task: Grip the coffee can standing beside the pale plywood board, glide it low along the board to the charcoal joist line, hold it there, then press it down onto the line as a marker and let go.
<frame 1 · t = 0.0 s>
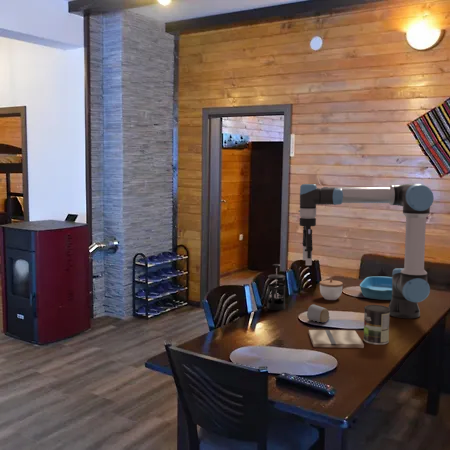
hand: (307, 262, 244), 28 cm above the table, tool pointing down, fingers open, 13 cm apart
plywood board: (335, 340, 219), on the table
casserole dish: (381, 294, 301), on the table
french press: (276, 308, 271), on the table
ceramic mug: (319, 321, 247), on the table
coffee can: (376, 341, 218), on the table
lidded bowl: (330, 298, 290), on the table
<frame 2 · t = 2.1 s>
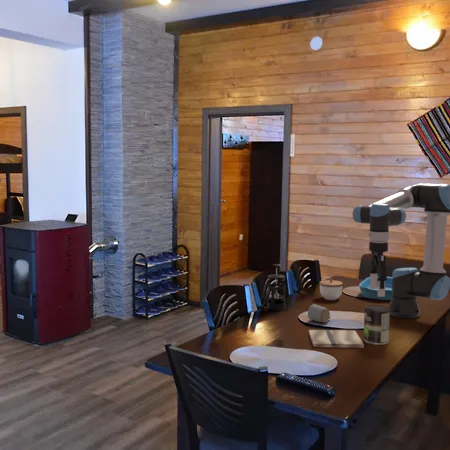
hand: (377, 292, 216), 21 cm above the table, tool pointing down, fingers open, 13 cm apart
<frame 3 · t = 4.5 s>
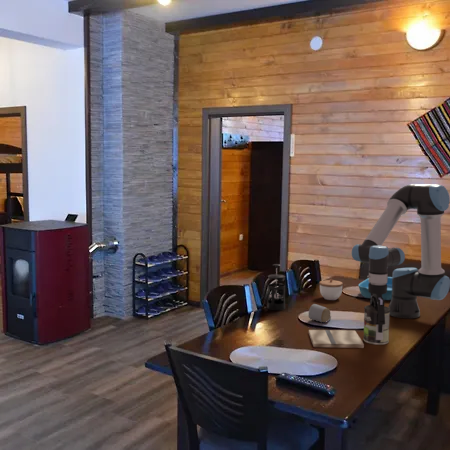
hand: (376, 335, 218), 2 cm above the table, tool pointing down, fingers closed on coffee can, 10 cm apart
coffee can: (376, 341, 218), on the table, touching gripper
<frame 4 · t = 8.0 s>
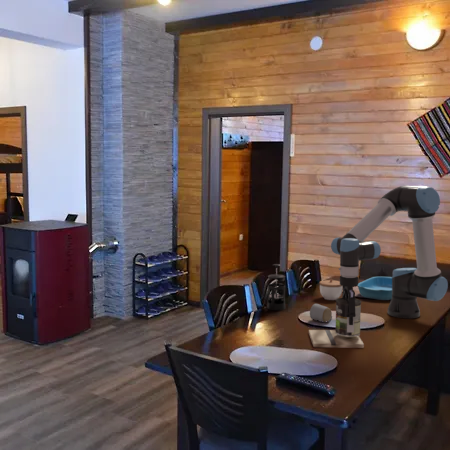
hand: (347, 328, 218), 5 cm above the table, tool pointing down, fingers closed on coffee can, 10 cm apart
coffee can: (347, 333, 218), point 3 cm above the table, touching gripper
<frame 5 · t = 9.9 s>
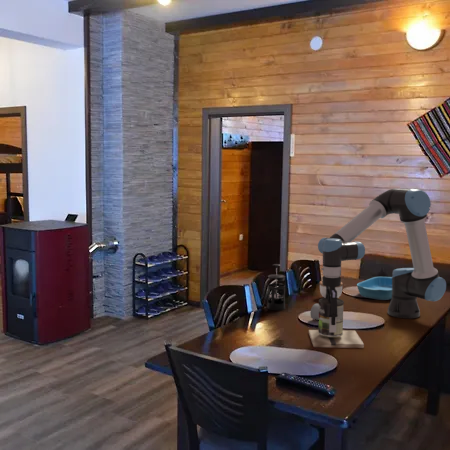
hand: (330, 328, 219), 5 cm above the table, tool pointing down, fingers closed on coffee can, 10 cm apart
coffee can: (330, 333, 219), point 3 cm above the table, touching gripper
when the fingers open (4 cm above the table, at t = 11.2 s): coffee can stays where it is, resting on plywood board.
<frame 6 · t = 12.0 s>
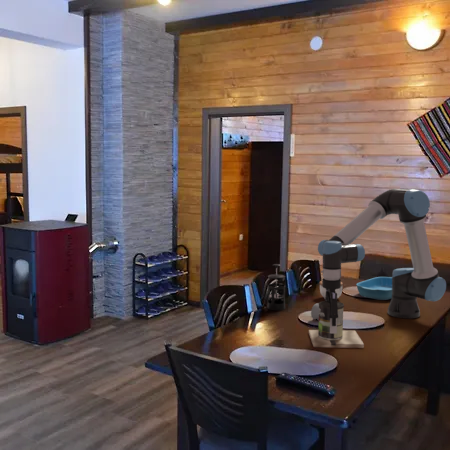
hand: (330, 328, 219), 5 cm above the table, tool pointing down, fingers open, 13 cm apart
coffee can: (330, 337, 219), point 1 cm above the table, touching plywood board
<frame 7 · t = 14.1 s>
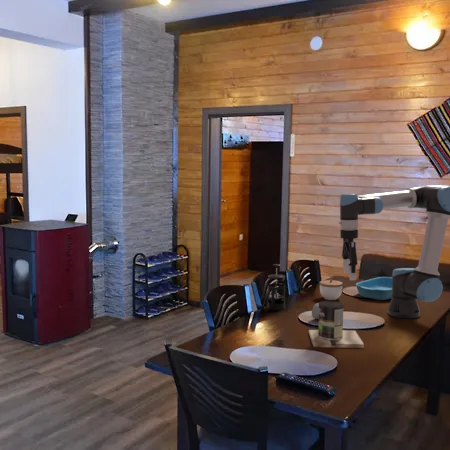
hand: (349, 276, 230), 24 cm above the table, tool pointing down, fingers open, 13 cm apart
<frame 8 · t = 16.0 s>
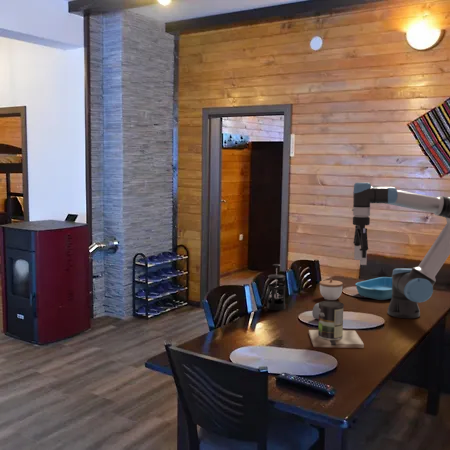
hand: (360, 262, 241), 29 cm above the table, tool pointing down, fingers open, 13 cm apart
at the end: coffee can inside the target area on the plywood board (0.1 cm from its centre), point 1.3 cm above the plywood board's base; coffee can tilted 0°; the gripper is holding nothing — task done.
